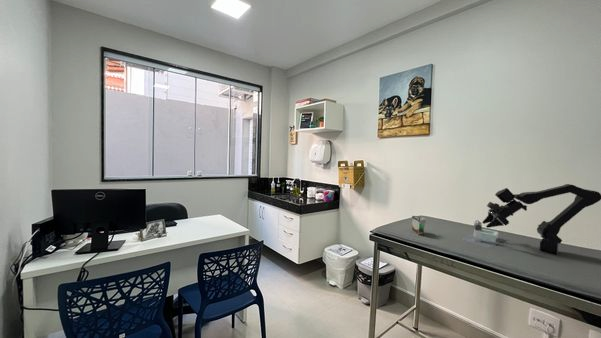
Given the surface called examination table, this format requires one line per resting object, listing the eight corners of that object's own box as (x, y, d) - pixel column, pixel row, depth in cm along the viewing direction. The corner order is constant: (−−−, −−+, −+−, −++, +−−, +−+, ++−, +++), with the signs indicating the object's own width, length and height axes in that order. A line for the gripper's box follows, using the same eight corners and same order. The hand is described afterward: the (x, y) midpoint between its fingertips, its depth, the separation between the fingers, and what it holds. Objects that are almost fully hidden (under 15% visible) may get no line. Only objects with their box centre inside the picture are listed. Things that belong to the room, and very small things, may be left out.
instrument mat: (505, 240, 151) (505, 239, 151) (488, 248, 137) (488, 247, 137) (476, 232, 164) (476, 232, 164) (457, 239, 150) (457, 239, 150)
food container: (429, 236, 156) (430, 220, 155) (419, 235, 156) (420, 220, 155) (420, 230, 168) (420, 215, 168) (411, 229, 168) (411, 215, 168)
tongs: (479, 240, 149) (480, 220, 148) (480, 242, 146) (481, 222, 145) (473, 239, 150) (474, 219, 150) (474, 241, 147) (475, 221, 146)
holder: (497, 238, 153) (498, 231, 153) (495, 242, 146) (495, 235, 146) (478, 234, 160) (478, 228, 160) (475, 237, 153) (475, 231, 153)
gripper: (493, 195, 151) (470, 211, 156) (503, 200, 134) (477, 217, 140) (508, 209, 148) (485, 225, 154) (520, 216, 131) (493, 233, 137)
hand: (484, 224), depth 146 cm, fingers open, 9 cm apart
